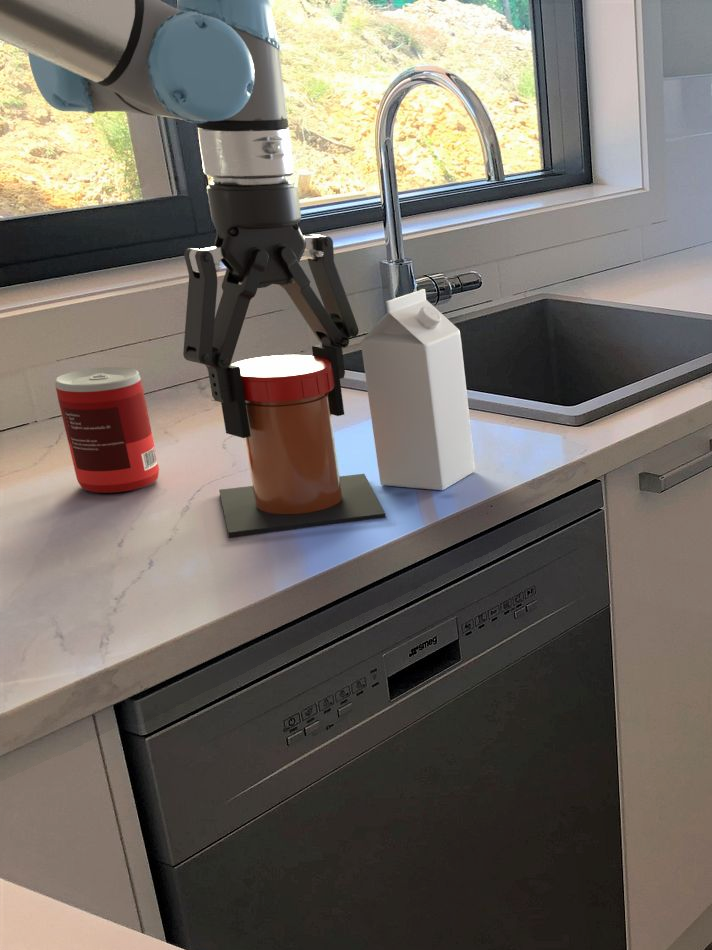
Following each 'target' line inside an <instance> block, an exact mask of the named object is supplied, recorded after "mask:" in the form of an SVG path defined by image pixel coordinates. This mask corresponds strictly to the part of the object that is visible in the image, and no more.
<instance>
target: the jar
mask: <svg viewBox="0 0 712 950" xmlns="http://www.w3.org/2000/svg"><path fill="white" fill-rule="evenodd" d="M245 403H246V409H247V415H248V422H249V428H250V435H251V437H246V438H244V442H245V443H244V444H245V448H246V455H247V462H248V469H249V473H250V480H251V486H253V492H254V498H255V504H256V507H257V508H258V509H259V510H261V511H264V512H267V513H273V514H301V513H309V512H315V511H320V510H323V509H327V508H330V507H332V506H334V505H336V504H338V503H339V502H340V501H341V500H342V498H343V497H342V490H341V483H340V476H341V475H340V469H339V462H338V455H337V449H336V440H335V434H334V426H333V419H332V414H331V411H330V403H329V396H328V392H327V393H325V394H322V395H319V396H315V397H311V398H306V399H300V400H291V401H278V402H257V401H247V400H245Z"/></svg>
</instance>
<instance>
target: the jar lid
mask: <svg viewBox="0 0 712 950" xmlns="http://www.w3.org/2000/svg"><path fill="white" fill-rule="evenodd" d="M230 365H234V366H238V367H240V371H241V377H242V384H243V390H244V396H245V400H247V401H257V402H278V401H291V400H300V399H306V398H311V397H315V396H319V395H322V394H325V393H327V392H329V391H331V390H332V389H333V388H334V386H335V385H334V377H333V370H332V368H331V362H330V361H329V360H327V359H325V358H321V357H315V356H313V355H305V354H303V355H302V354H283V355H282V354H281V355H270V356H268V355H267V356H260V357H253V358H248V359H243V360H239V361H236V362H234V363H231V364H230Z"/></svg>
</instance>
